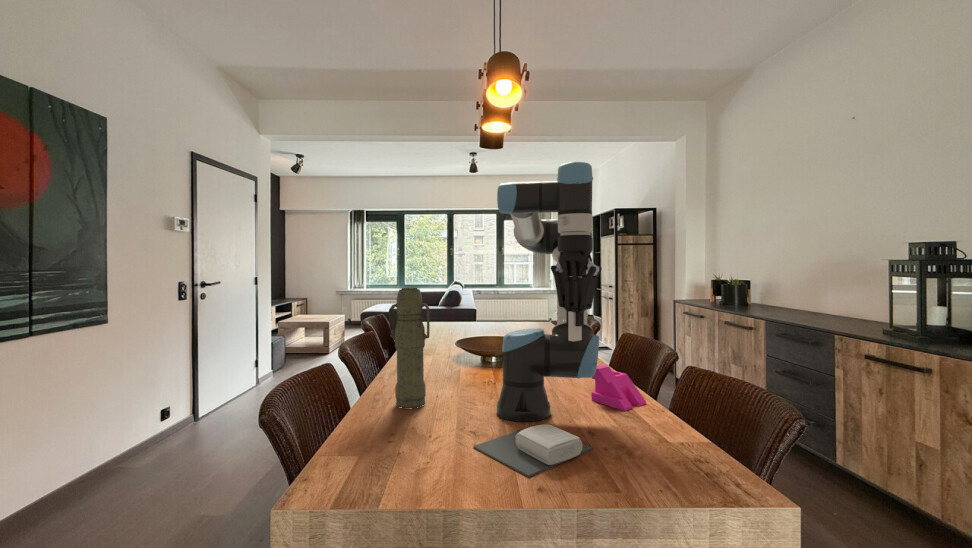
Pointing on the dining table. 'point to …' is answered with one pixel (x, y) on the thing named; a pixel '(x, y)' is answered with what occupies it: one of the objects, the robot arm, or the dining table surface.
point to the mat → (516, 454)
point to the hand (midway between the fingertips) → (575, 340)
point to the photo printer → (548, 443)
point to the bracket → (615, 389)
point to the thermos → (409, 347)
